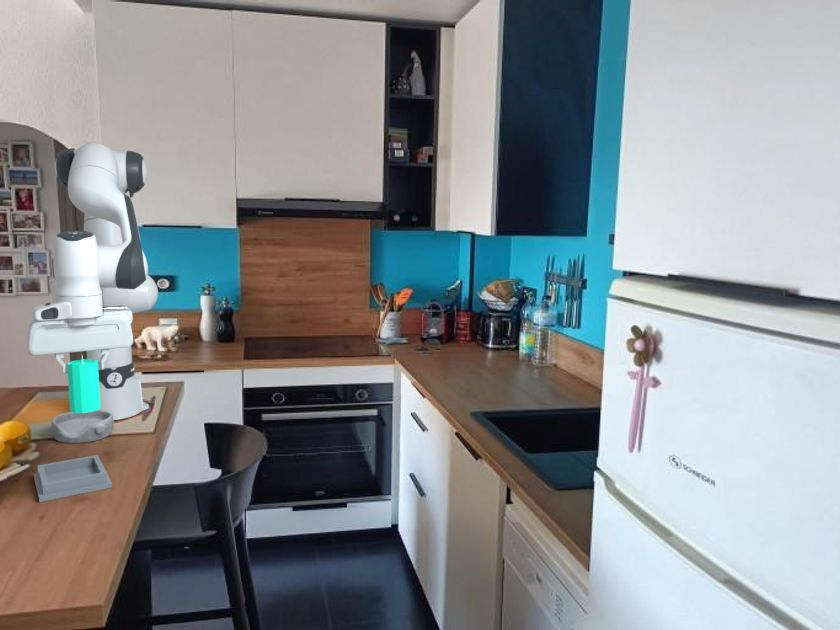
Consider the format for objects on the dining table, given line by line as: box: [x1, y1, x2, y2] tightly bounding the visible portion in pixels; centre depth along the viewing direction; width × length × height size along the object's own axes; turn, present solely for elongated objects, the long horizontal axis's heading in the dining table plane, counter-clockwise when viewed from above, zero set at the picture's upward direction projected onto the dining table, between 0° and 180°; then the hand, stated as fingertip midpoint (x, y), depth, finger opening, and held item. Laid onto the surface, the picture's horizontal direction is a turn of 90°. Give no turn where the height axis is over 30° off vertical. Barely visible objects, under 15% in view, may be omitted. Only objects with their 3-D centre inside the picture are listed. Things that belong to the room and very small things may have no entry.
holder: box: [33, 454, 113, 503], centre depth 135 cm, size 13×13×3 cm
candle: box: [66, 354, 100, 413], centre depth 140 cm, size 6×6×12 cm
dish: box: [51, 410, 115, 444], centre depth 163 cm, size 14×14×5 cm
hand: (83, 371), depth 140 cm, fingers closed on candle, 5 cm apart
